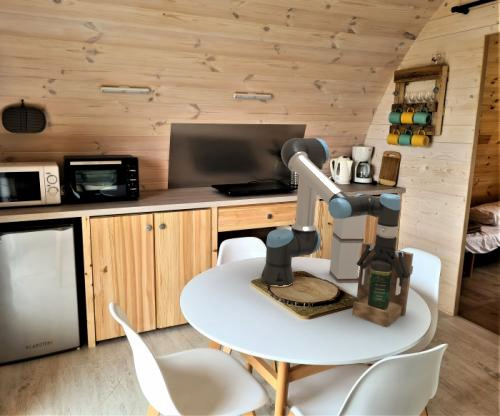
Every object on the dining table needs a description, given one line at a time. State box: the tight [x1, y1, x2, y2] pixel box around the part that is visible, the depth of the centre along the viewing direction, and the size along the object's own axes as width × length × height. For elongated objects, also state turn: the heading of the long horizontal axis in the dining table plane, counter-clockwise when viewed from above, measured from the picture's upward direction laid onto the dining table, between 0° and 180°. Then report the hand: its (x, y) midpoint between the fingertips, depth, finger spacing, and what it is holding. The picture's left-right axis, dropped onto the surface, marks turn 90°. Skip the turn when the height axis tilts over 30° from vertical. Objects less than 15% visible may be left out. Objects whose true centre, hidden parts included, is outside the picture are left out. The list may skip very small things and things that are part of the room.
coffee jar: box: [368, 257, 392, 309], centre depth 168 cm, size 10×8×19 cm
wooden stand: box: [351, 241, 414, 328], centre depth 170 cm, size 20×17×25 cm
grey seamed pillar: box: [328, 215, 367, 284], centre depth 204 cm, size 11×11×35 cm
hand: (380, 288), depth 169 cm, fingers open, 13 cm apart
